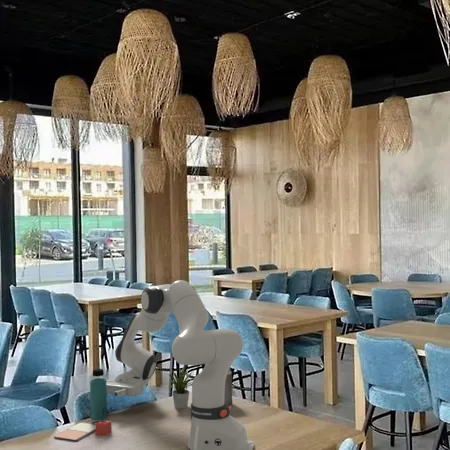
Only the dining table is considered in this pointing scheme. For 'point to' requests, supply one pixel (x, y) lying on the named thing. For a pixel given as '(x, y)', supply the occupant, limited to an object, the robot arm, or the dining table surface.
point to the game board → (77, 431)
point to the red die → (103, 427)
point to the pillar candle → (228, 389)
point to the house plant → (180, 389)
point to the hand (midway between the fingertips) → (105, 392)
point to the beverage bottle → (98, 396)
